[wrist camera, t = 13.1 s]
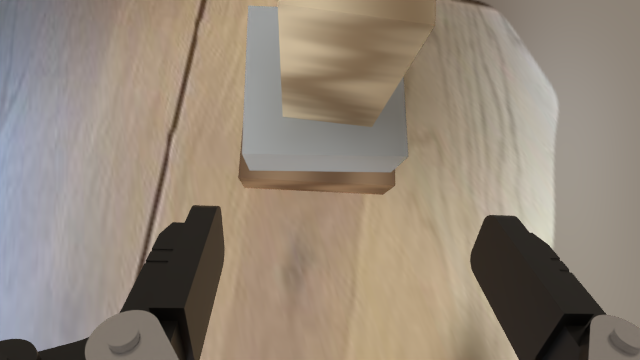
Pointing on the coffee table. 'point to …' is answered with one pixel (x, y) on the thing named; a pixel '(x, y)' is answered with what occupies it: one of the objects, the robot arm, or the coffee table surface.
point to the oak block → (347, 55)
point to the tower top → (308, 135)
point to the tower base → (317, 180)
